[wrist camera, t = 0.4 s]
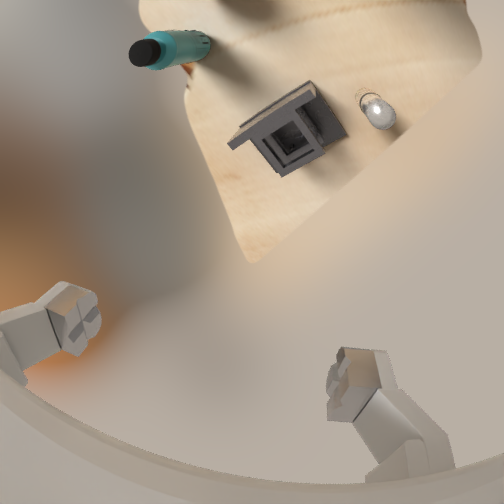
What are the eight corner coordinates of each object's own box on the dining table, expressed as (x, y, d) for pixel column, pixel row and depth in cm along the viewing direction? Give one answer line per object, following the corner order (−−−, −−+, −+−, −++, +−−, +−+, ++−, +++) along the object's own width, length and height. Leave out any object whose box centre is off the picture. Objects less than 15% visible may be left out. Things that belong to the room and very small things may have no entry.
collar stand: (309, 79, 43) (308, 87, 35) (345, 132, 48) (351, 151, 40) (241, 124, 51) (225, 142, 44) (277, 170, 56) (270, 195, 49)
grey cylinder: (369, 83, 40) (387, 97, 30) (380, 103, 42) (401, 122, 32) (350, 93, 43) (362, 109, 32) (362, 112, 44) (376, 134, 34)
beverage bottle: (221, 44, 41) (172, 48, 26) (197, 68, 44) (141, 85, 30) (197, 24, 38) (139, 21, 24) (175, 48, 42) (111, 59, 27)
